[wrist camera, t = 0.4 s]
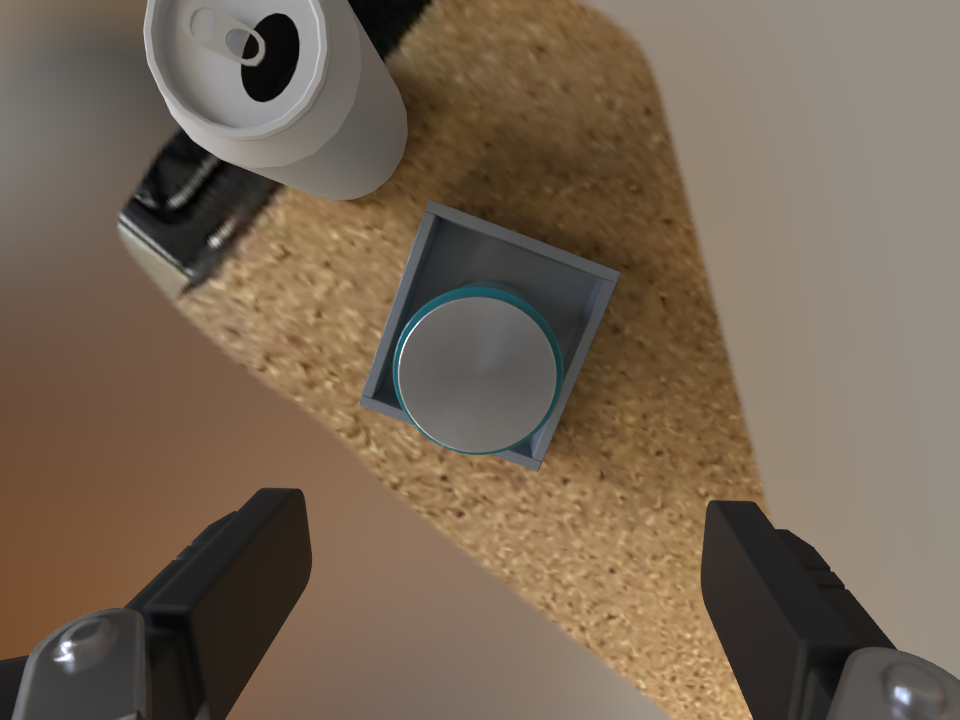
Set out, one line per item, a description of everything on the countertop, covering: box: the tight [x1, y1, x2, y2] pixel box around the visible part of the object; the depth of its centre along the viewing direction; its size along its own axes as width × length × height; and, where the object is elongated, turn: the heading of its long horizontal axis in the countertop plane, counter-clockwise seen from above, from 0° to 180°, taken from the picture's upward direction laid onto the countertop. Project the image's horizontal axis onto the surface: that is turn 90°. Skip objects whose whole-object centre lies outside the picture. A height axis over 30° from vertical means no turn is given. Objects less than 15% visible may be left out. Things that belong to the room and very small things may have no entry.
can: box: [143, 0, 408, 201], centre depth 23 cm, size 8×8×12 cm
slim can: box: [393, 280, 564, 455], centre depth 24 cm, size 6×6×12 cm
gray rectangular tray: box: [358, 199, 621, 471], centre depth 29 cm, size 11×10×3 cm
